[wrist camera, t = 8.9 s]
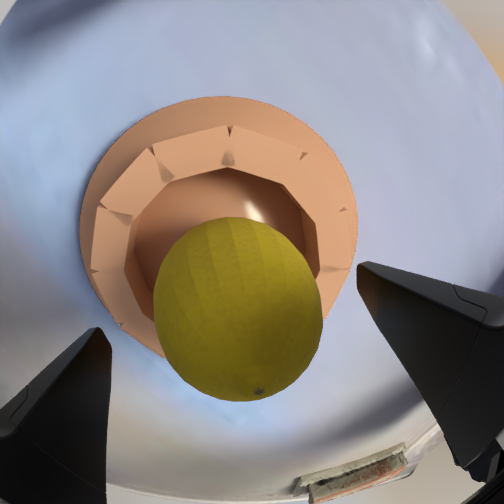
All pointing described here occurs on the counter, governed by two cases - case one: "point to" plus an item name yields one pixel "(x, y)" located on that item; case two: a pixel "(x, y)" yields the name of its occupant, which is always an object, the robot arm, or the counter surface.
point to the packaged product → (352, 475)
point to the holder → (211, 198)
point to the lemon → (237, 309)
